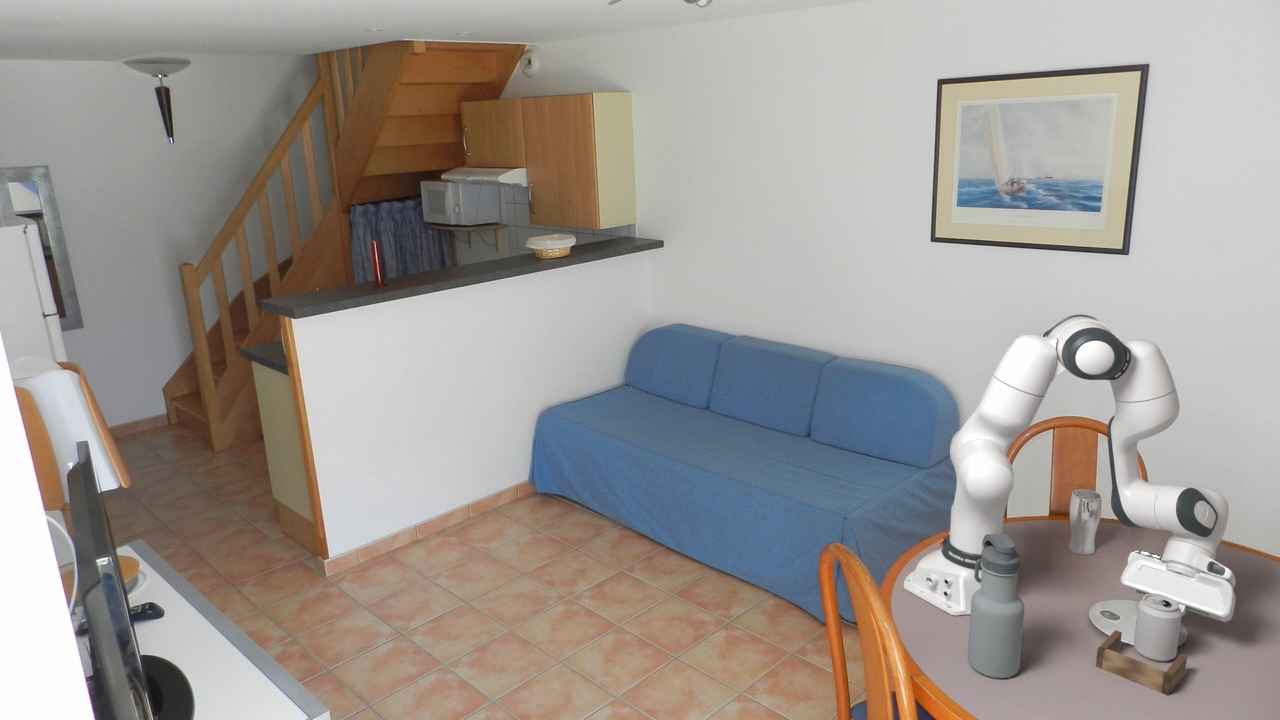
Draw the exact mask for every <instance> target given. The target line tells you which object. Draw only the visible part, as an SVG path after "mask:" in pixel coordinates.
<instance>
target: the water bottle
mask: <svg viewBox="0 0 1280 720" xmlns="http://www.w3.org/2000/svg"><path fill="white" fill-rule="evenodd" d="M981 555H982V559H979V560H977V561H976V563H975V574H974V578H975V580H976V581H977V582H979V583H981V589H979V590H977V591H976V592H975V593H974V594H973V596H972V598H971V610H970V614H969V626H968V627H969V629H968V647H967V661H968V663H969V665H970V667H971V668H973V670H974V671H975V672H978V673H979V674H981V675H983V676H986V677H988V678H993V679H1008V678H1011V677H1014V676H1016V674H1017V673H1018V672H1019V671H1020V669H1021V659H1022V647H1023V646H1022V645H1023V635H1024V634H1023V633H1024V621H1025V619H1024V618H1025V604H1024V601H1023V599H1022V598H1021V597H1020V596H1019V595H1018V591H1017V590H1018V580H1019V573H1020V571H1021V569H1020V567H1021V555H1020V553H1019V552H1018V551H1017V550H1016V543H1015V542H1014V541H1013V540H1012V539H1011V538H1010V536H1009V535H1008V534H1006V533H1003V534H986V535H985V536H984V538H983V543H982V552H981ZM980 565H981V567H982V575H981V579H980V578H979V576H978V574H979V566H980Z"/></svg>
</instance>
